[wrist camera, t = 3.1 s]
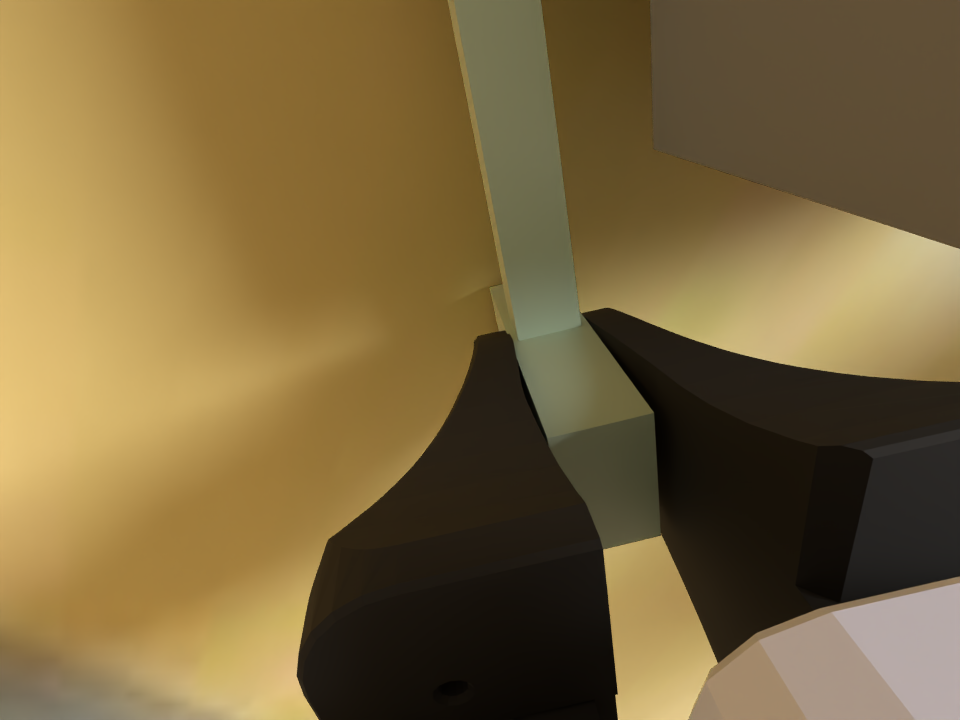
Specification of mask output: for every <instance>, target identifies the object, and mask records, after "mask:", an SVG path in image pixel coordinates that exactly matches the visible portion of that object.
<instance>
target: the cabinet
mask: <svg viewBox="0 0 960 720" xmlns="http://www.w3.org/2000/svg"><path fill="white" fill-rule="evenodd" d="M650 22H651V67H652V112H653V149H654V150H657V151H660V152H664V153H667V154H670V155H673V156H676V157H679V158H682V159H685V160H688V161H691V162H694V163H697V164H700V165H704V166H707V167H710V168H713V169H716V170H719V171H722V172H725V173H728V174H731V175H734V176H737V177H740V178H744V179H747V180H750V181H753V182H756V183H759V184H762V185H765V186H768V187H771V188H774V189H777V190H780V191H784V192H787V193H790V194H793V195H796V196H799V197H802V198H805V199H808V200H811V201H814V202H817V203H820V204H824V205H827V206H830V207H833V208H836V209H839V210H842V211H845V212H848V213H851V214H854V215H857V216H860V217H864V218H867V219H870V220H873V221H876V222H879V223H882V224H885V225H888V226H891V227H894V228H897V229H900V230H904V231H907V232H910V233H913V234H916V235H919V236H922V237H925V238H928V239H931V240H934V241H937V242H940V243H944V244H947V245H950V246H953V247H956V248H959V249H960V0H650Z"/></svg>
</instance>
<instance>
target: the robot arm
mask: <svg viewBox="0 0 960 720" xmlns="http://www.w3.org/2000/svg"><path fill="white" fill-rule="evenodd" d="M581 314H582V315H583V316H584V318H585V319H586V320H587V322H588V323H589V324H590V326H591V327H592V329H593V330H594V331H595V333H596V334H597V335H598V337H599V338H600V340H601V341H602V342H603V344H604V345H605V346H606V348H607V349H608V350H609V352H610V353H611V355H612V356H613V357H614V359H615V360H616V361H617V363H618V364H619V366H620V367H621V368H622V370H623V371H624V372H625V374H626V375H627V376H628V378H629V379H630V381H631V382H632V383H633V385H634V386H635V387H636V389H637V390H638V392H639V393H640V394H641V396H642V397H643V398H644V400H645V401H646V403H647V404H648V405H649V407H650V408H651V409H652V411H653V412H654V421H655V439H656V457H657V475H658V493H659V511H660V528H661V534H662V536H663V538H664V541H665V543H666V545H667V547H668V549H669V552H670V554H671V556H672V558H673V560H674V562H675V565H676V567H677V569H678V571H679V573H680V576H681V578H682V580H683V582H684V585H685V587H686V589H687V591H688V594H689V596H690V598H691V601H692V603H693V605H694V607H695V610H696V612H697V614H698V617H699V619H700V621H701V623H702V626H703V628H704V631H705V633H706V635H707V638H708V640H709V643H710V645H711V647H712V650H713V652H714V655H715V657H716V659H717V662H718V664H717V665H716V666H714V667H713V668H712V669H711V670H710V671H709V674H708V676H707V678H706V680H705V682H704V685H703V687H702V689H701V691H700V693H699V695H698V698H697V700H696V702H695V704H694V706H693V709H692V711H691V714H690V716H689V719H688V720H960V382H938V381H916V380H904V379H891V378H879V377H867V376H858V375H850V374H841V373H834V372H827V371H821V370H814V369H808V368H801V367H795V366H790V365H785V364H779V363H775V362H770V361H766V360H762V359H757V358H753V357H749V356H745V355H740V354H737V353H733V352H730V351H726V350H723V349H719V348H716V347H713V346H710V345H707V344H704V343H701V342H698V341H695V340H692V339H689V338H686V337H683V336H681V335H678V334H675V333H673V332H670V331H667V330H665V329H662V328H660V327H657V326H655V325H652V324H650V323H647V322H645V321H643V320H640V319H638V318H635V317H633V316H630V315H628V314H625V313H623V312H620V311H617V310H614V309H611V308H604V309H599V310H595V311H590V312H585V313H581ZM297 678H298V680H299V683H300V686H301V689H302V691H303V694H304V696H305V698H306V699H307V701H308V703H309V704H310V706H311V707H312V709H313V711H314V712H315V714H316V716H317V717H318V719H319V720H618V717H617V708H616V699H615V695H616V694H618V692H617V682H616V673H615V663H614V653H613V643H612V633H611V624H610V614H609V604H608V594H607V584H606V574H605V565H604V555H603V547H602V543H601V540H600V537H599V534H598V532H597V529H596V527H595V524H594V522H593V519H592V517H591V515H590V512H589V510H588V507H587V505H586V502H585V501H584V500H583V499H582V497H581V496H580V495H579V494H578V492H577V491H576V490H575V488H574V487H573V485H572V484H571V482H570V481H569V479H568V478H567V476H566V475H565V473H564V472H563V470H562V469H561V467H560V466H559V464H558V462H557V460H556V459H555V457H554V455H553V453H552V451H551V450H550V448H549V446H548V444H547V443H546V441H545V439H544V437H543V435H542V433H541V431H540V429H539V426H538V424H537V422H536V420H535V418H534V416H533V414H532V412H531V409H530V407H529V405H528V403H527V400H526V398H525V395H524V392H523V388H522V385H521V379H520V374H519V368H518V363H517V358H516V352H515V347H514V342H513V339H512V337H511V335H510V334H507V333H506V331H505V330H503V331H499V332H494V333H490V334H485V335H481V336H478V337H477V338H476V340H475V341H474V350H473V355H472V359H471V363H470V367H469V370H468V372H467V375H466V378H465V381H464V384H463V386H462V389H461V391H460V393H459V395H458V397H457V399H456V401H455V404H454V406H453V408H452V410H451V412H450V414H449V415H448V417H447V419H446V421H445V423H444V424H443V426H442V427H441V429H440V431H439V432H438V434H437V435H436V437H435V438H434V440H433V441H432V443H431V444H430V445H429V447H428V448H427V449H426V451H425V452H424V453H423V455H422V456H421V457H420V458H419V459H418V461H417V462H416V463H415V464H414V466H413V467H412V468H411V469H410V470H409V471H408V472H407V473H406V474H405V475H404V476H403V477H402V478H401V479H400V480H399V481H398V482H397V483H396V484H395V485H394V486H393V487H392V488H391V489H390V490H389V491H388V492H387V493H386V494H385V495H384V496H383V497H381V498H380V499H379V500H378V501H377V502H376V503H375V504H373V505H372V506H371V507H370V508H369V509H367V510H366V511H365V512H363V513H362V514H361V515H360V516H358V517H357V518H356V519H355V520H353V521H352V522H351V523H350V524H348V525H347V526H346V527H344V528H343V529H342V530H341V531H339V532H338V533H337V534H335V535H334V536H332V537H331V538H330V539H329V540H328V542H327V544H326V547H325V550H324V553H323V556H322V559H321V562H320V565H319V568H318V571H317V574H316V577H315V580H314V583H313V586H312V590H311V593H310V597H309V602H308V606H307V611H306V616H305V622H304V627H303V633H302V638H301V644H300V649H299V656H298V667H297Z"/></svg>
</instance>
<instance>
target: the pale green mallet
mask: <svg viewBox="0 0 960 720" xmlns="http://www.w3.org/2000/svg"><path fill="white" fill-rule="evenodd" d="M448 6H449V11H450V16H451V21H452V26H453V31H454V36H455V41H456V47H457V52H458V57H459V62H460V67H461V72H462V77H463V82H464V88H465V93H466V98H467V103H468V108H469V113H470V118H471V124H472V129H473V134H474V139H475V144H476V149H477V154H478V159H479V165H480V170H481V175H482V180H483V185H484V190H485V195H486V200H487V206H488V211H489V216H490V221H491V226H492V231H493V236H494V241H495V247H496V252H497V257H498V262H499V267H500V272H501V277H502V282H503V284H501V285H497V286H492V287H490V292H491V297H492V302H493V307H494V311H495V316H496V321H497V326H498V331H503V330H505V331H506V333H507V334H510V335H511V337H512V339H513V342H514V347H515V352H516V358H517V363H518V368H519V374H520V379H521V385H522V388H523V392H524V395H525V398H526V400H527V403H528V405H529V407H530V409H531V412H532V414H533V416H534V418H535V420H536V422H537V424H538V426H539V429H540V431H541V433H542V435H543V437H544V439H545V441H546V443H547V444H548V446H549V448H550V450H551V451H552V453H553V455H554V457H555V459H556V460H557V462H558V464H559V466H560V467H561V469H562V470H563V472H564V473H565V475H566V476H567V478H568V479H569V481H570V482H571V484H572V485H573V487H574V488H575V490H576V491H577V492H578V494H579V495H580V496H581V497H582V499H583V500H584V501H585V502H586V505H587V507H588V510H589V512H590V515H591V517H592V519H593V522H594V524H595V527H596V529H597V532H598V534H599V537H600V540H601V543H602V547H603V549H607V548H611V547H615V546H620V545H624V544H628V543H632V542H636V541H640V540H644V539H649V538H653V537H657V536H661V528H660V511H659V493H658V475H657V457H656V439H655V421H654V412H653V411H652V409H651V408H650V407H649V405H648V404H647V403H646V401H645V400H644V398H643V397H642V396H641V394H640V393H639V392H638V390H637V389H636V387H635V386H634V385H633V383H632V382H631V381H630V379H629V378H628V376H627V375H626V374H625V372H624V371H623V370H622V368H621V367H620V366H619V364H618V363H617V361H616V360H615V359H614V357H613V356H612V355H611V353H610V352H609V350H608V349H607V348H606V346H605V345H604V344H603V342H602V341H601V340H600V338H599V337H598V335H597V334H596V333H595V331H594V330H593V329H592V327H591V326H590V324H589V323H588V322H587V320H586V319H585V318H584V316H583V315H582V314H581V312H580V311H579V303H578V295H577V287H576V279H575V271H574V262H573V254H572V246H571V238H570V230H569V222H568V214H567V206H566V198H565V190H564V182H563V174H562V166H561V158H560V150H559V142H558V134H557V126H556V117H555V109H554V101H553V93H552V85H551V77H550V69H549V61H548V53H547V45H546V37H545V29H544V21H543V13H542V5H541V0H448Z"/></svg>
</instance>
